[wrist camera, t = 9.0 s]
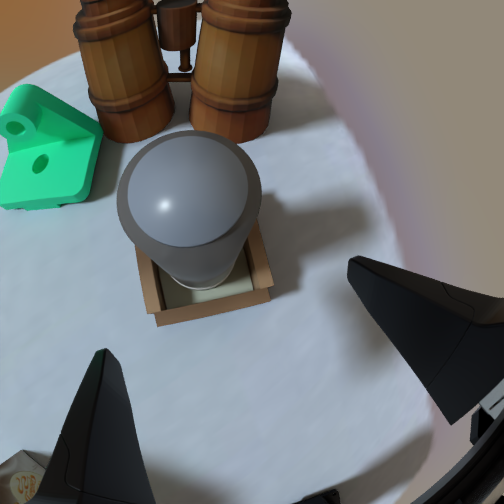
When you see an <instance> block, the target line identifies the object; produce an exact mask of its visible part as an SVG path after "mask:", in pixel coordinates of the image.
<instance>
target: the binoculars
mask: <svg viewBox="0 0 504 504" xmlns="http://www.w3.org/2000/svg"><path fill="white" fill-rule="evenodd" d="M80 2H81V5H82V10H81V11H80V12H78V14H77V15H76V22H75V23H74V25H73V32H74V35H75V37H76V38H77V39H78V42H79V47H80V52H81V57H82V61H83V65H84V70H85V74H86V78H87V81H88V85H89V88H88V94H89V99H90V101H91V103H92V104H93V105H94V106H95V108H96V112H97V116H98V119H99V123H100V125H101V127H102V129H103V131H104V133H103V134H104V135H105V136H106V137H107V138H108V139H110V140H112V141H114V142H117V143H133V142H139V141H142V140H145V139H147V138H150V137H152V136H154V135H155V134H157V133H158V132H160V131H161V130H163V129H164V128H165V126H166V125H167V124H168V123H169V122H170V121H171V119H172V117H173V114H174V112H175V103H174V99H173V96H172V93H171V89H170V86H169V83H168V82H191V89H192V94H191V101H190V108H189V121H190V123H191V125H192V126H193V128H194V130H199V131H207V132H211V133H215V134H218V135H221V136H223V137H225V138H227V139H229V140H231V141H232V142H234V143H235V144H240V143H244V142H247V141H251V140H254V139H255V138H257V137H258V136H260V135H261V134H263V132H264V131H265V129H266V128H267V126H268V123H269V118H270V111H271V103H272V98H273V97H274V96H275V94H276V91H277V87H278V78H277V71H278V66H279V60H280V55H281V49H282V44H283V38H284V33H285V27H287V26H288V25H289V22H290V19H291V14H292V13H291V10H290V9H289V7H288V4H289V3H288V2H287V0H204V2H203V3H197V0H161V1H159V2H158V3H157V5H154V2H153V0H80ZM197 12H201V13H202V23H201V29H200V35H199V41H198V47H197V54H196V60H195V67H194V69H193V71H192V73H169V72H168V66H167V64H166V63H165V61H164V60H163V56H162V52H161V48H162V49H163V50H167V51H180V64H181V65H180V66H179V68H178V69H179V71H181V72H188V71H190V70H192V68H193V67H192V65H190V47H191V46H193V45H194V44H195V42H196V22H197ZM153 14H157V22H158V35H159V39H158V35H157V30H156V26H155V21H154V17H153ZM160 47H161V48H160Z"/></svg>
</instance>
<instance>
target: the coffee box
mask: <svg viewBox="0 0 504 504" xmlns="http://www.w3.org/2000/svg"><path fill="white" fill-rule="evenodd" d="M44 473H45V469H44V468H43V467H41V466H40V465H39V464H38V463H36V462H35V461H34V460H33V459H32V458H30V457H29V456H28V455H27V454H26V453H25V452H24V451H22V450H20V451H19V452H17V453H16V454H15V455H13V456H12V457H10V458H9V459H8V460H6V461H5V462H3V463H2V464H1V465H0V504H24V503H25V502H27V501H29V500H30V499H31V498H32V497H33V496H34V495H35V493H36V492H37V490H38V487H39V485H40V482H41V480H42V478H43V475H44Z"/></svg>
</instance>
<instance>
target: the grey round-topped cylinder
mask: <svg viewBox="0 0 504 504" xmlns="http://www.w3.org/2000/svg"><path fill="white" fill-rule="evenodd" d="M261 197H262V190H261V182H260V178H259V175H258V172H257V169H256V167H255V165H254V163H253V162H252V160H251V159H250V157H249V156H248V155H247V154H246V153H245V151H244V150H243V149H241V148H240V147H239V146H238V145H237V144H235V143H234V142H232V141H231V140H229V139H227V138H225V137H223V136H221V135H218V134H215V133H211V132H207V131H199V130H187V131H179V132H175V133H171V134H168V135H165V136H162V137H160V138H158V139H156V140H154V141H152V142H151V143H149V144H147V145H146V146H145V147H144V148H142V149H141V150H140V151H139V152H138V153H137V154H136V155H135V156H134V157H133V158H132V160H131V161H130V162H129V164H128V165H127V167H126V168H125V170H124V172H123V174H122V177H121V179H120V182H119V186H118V191H117V212H118V216H119V220H120V223H121V225H122V227H123V229H124V231H125V233H126V234H127V236H128V237H129V238H130V240H131V241H132V242H133V243H134V244H135V245H136V246H137V247H138V248H139V249H140V250H142V251H143V252H144V253H145V254H146V255H147V256H148V257H149V258H151V259H152V260H153V261H154V262H155V263H156V264H158V265H159V266H160V267H161V268H162V269H163V270H165V271H166V272H167V273H168V274H169V275H171V277H172V278H173V279H174V280H175V281H177V282H178V283H179V284H181V285H182V286H184V287H186V288H189V289H191V290H196V291H205V290H210V289H213V288H215V287H217V286H218V285H220V284H221V283H222V282H223V281H224V280H225V279H226V278H227V277H228V275H229V274H230V272H231V271H232V269H233V266H234V264H235V261H236V259H237V257H238V255H239V253H240V251H241V249H242V247H243V245H244V243H245V241H246V239H247V237H248V235H249V233H250V231H251V229H252V227H253V225H254V223H255V221H256V218H257V216H258V213H259V209H260V205H261Z"/></svg>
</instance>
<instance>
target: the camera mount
mask: <svg viewBox="0 0 504 504" xmlns="http://www.w3.org/2000/svg"><path fill="white" fill-rule="evenodd" d="M103 133H104V131H103V129H102V127H101V125H100V123H98V122H97V121H95V120H93V119H92V118H90V117H89V116H87V115H85V114H84V113H82V112H80V111H79V110H77V109H75V108H74V107H72V106H70V105H69V104H67V103H65V102H64V101H62V100H60V99H58V98H57V97H55V96H53V95H52V94H50V93H48V92H46V91H45V90H43V89H41V88H40V87H38V86H35V85H32V84H23V85H20V86H18V87H16V88H15V89H14V90H13V92H12V93H11V95H10V97H9V99H8V100H7V102H6V104H5V106H4V108H3V110H2V112H1V114H0V134H1V135H2V136H3V137H4V138H6V139H7V143H8V150H9V155H8V158H7V161H6V164H5V167H4V170H3V173H2V176H1V180H0V206H1V207H3V208H4V209H6V210H9V209H16V208H24V209H25V210H27V211H29V210H39V209H50V208H60V207H61V204H64V203H76V202H81V201H83V200H85V199H86V198H87V196H88V195H89V193H90V188H91V183H92V178H93V173H94V169H95V164H96V160H97V156H98V152H99V148H100V144H101V140H102V137H103Z"/></svg>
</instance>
